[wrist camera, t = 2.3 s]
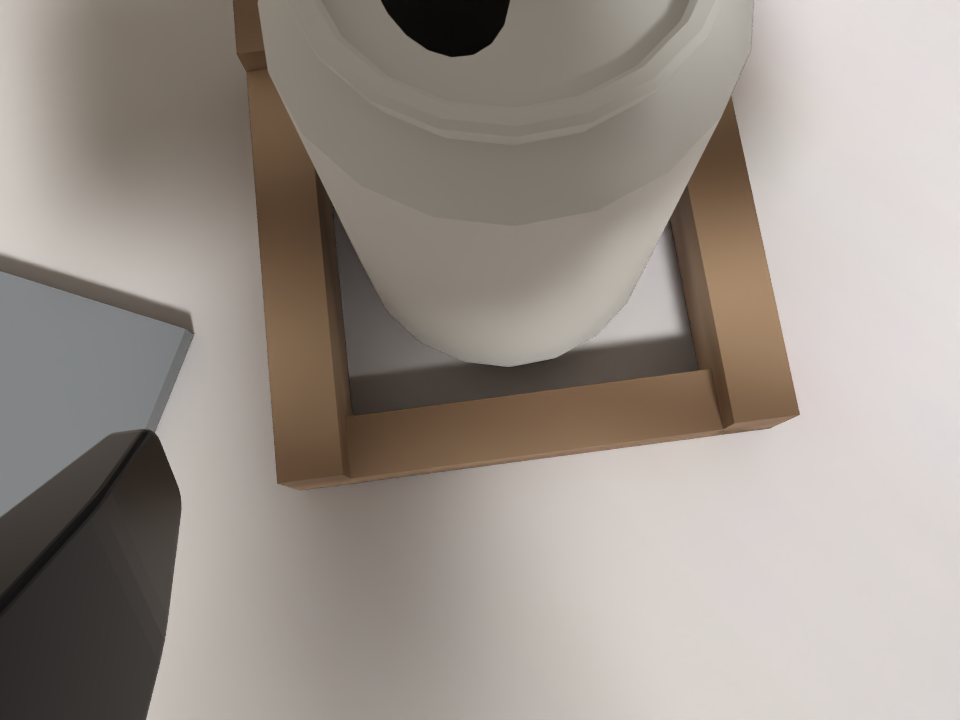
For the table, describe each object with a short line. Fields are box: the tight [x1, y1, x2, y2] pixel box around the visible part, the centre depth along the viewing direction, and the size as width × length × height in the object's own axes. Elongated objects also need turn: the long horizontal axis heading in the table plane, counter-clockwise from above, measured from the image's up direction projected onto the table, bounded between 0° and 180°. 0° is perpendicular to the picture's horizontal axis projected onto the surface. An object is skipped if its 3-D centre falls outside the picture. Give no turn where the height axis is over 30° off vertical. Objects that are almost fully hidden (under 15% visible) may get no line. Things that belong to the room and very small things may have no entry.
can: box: [258, 0, 754, 367], centre depth 17 cm, size 8×8×12 cm
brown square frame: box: [233, 0, 800, 490], centre depth 21 cm, size 12×12×3 cm
